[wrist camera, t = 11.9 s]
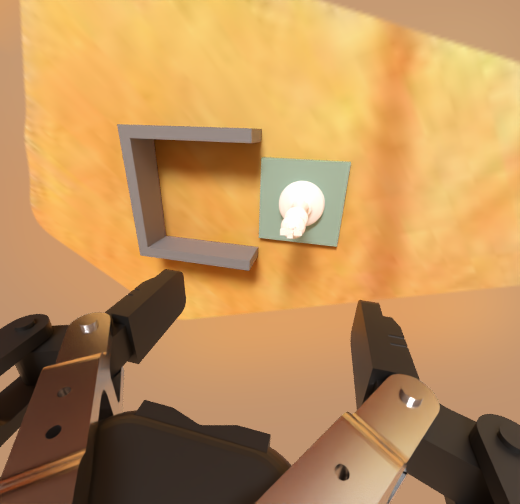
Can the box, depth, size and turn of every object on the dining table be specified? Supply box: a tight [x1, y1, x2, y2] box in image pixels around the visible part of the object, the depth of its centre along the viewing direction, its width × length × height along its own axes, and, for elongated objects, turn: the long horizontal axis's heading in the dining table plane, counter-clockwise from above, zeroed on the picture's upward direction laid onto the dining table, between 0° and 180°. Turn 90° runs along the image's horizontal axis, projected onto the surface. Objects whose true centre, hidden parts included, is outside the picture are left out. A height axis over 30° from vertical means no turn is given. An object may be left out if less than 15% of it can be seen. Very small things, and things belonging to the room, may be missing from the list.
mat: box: [259, 157, 351, 247], centre depth 29 cm, size 9×9×1 cm
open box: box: [117, 124, 262, 271], centre depth 29 cm, size 14×14×4 cm
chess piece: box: [279, 181, 325, 239], centre depth 24 cm, size 5×5×10 cm
